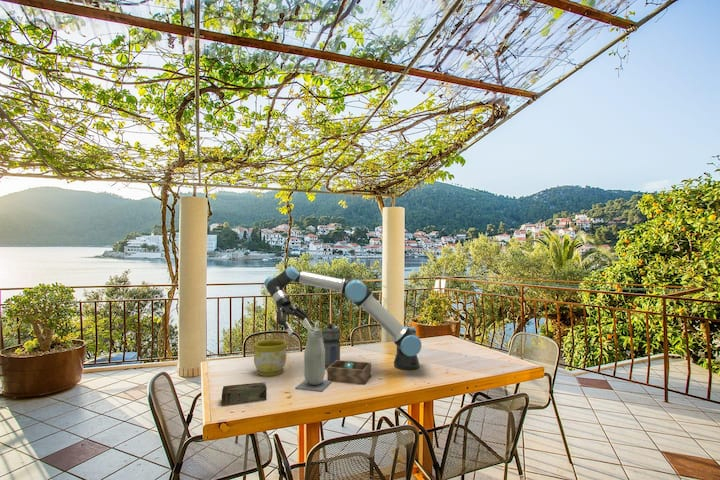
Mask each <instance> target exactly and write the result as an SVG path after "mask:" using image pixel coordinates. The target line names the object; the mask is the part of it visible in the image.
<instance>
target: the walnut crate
mask: <svg viewBox="0 0 720 480" xmlns="http://www.w3.org/2000/svg"><path fill="white" fill-rule="evenodd" d="M349 362H350V363H354V369H348V368H344V364H345V363H349ZM326 370H327V379H326V380H328V381H332V383H335V382H336V383H345V384H354V385H366V383H367V382H368V380H369V379H370V378H371V376H372V362H366V361H365V362H363V361H355V360H354V361H351V360H341V359H340V360H336V361H335V362H333V363H332V364H331V365H330V366H328V367H327V368H326Z"/></svg>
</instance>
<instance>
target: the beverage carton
mask: <svg viewBox="0 0 720 480" xmlns="http://www.w3.org/2000/svg"><path fill="white" fill-rule="evenodd" d="M267 389H268V387H267V383H266V381H261V382H252V383H242V384H232V385H230V384H229V385H223V388H222V391H221V406H222V405H223V406H230V404H231V405H236V404H237V405H238V404H239V405H240V404H247V403H255V402H260V400H262V401H267V396H268V395H267V394H268V392H267ZM254 401H255V402H254Z"/></svg>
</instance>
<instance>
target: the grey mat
mask: <svg viewBox="0 0 720 480" xmlns="http://www.w3.org/2000/svg"><path fill="white" fill-rule="evenodd" d="M332 383H333V381H328V380H327V379H323V381H322V382H321V383H320V384H318V385H311V384H309V383H308V382H307V381H306V379H304V380H303V381H302V382H300V383H299V384H298V385H297V386H296V387H295V389H296V390H302V391H311V392H312V391H313V392H320V393H322V392H323V391H325V390H326V389H327V388H328V387H329V386H330V385H331V384H332Z"/></svg>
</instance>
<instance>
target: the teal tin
mask: <svg viewBox="0 0 720 480" xmlns="http://www.w3.org/2000/svg"><path fill="white" fill-rule="evenodd" d="M344 368H348V369H354V363H350V362H349V363H345V364H344Z"/></svg>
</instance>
